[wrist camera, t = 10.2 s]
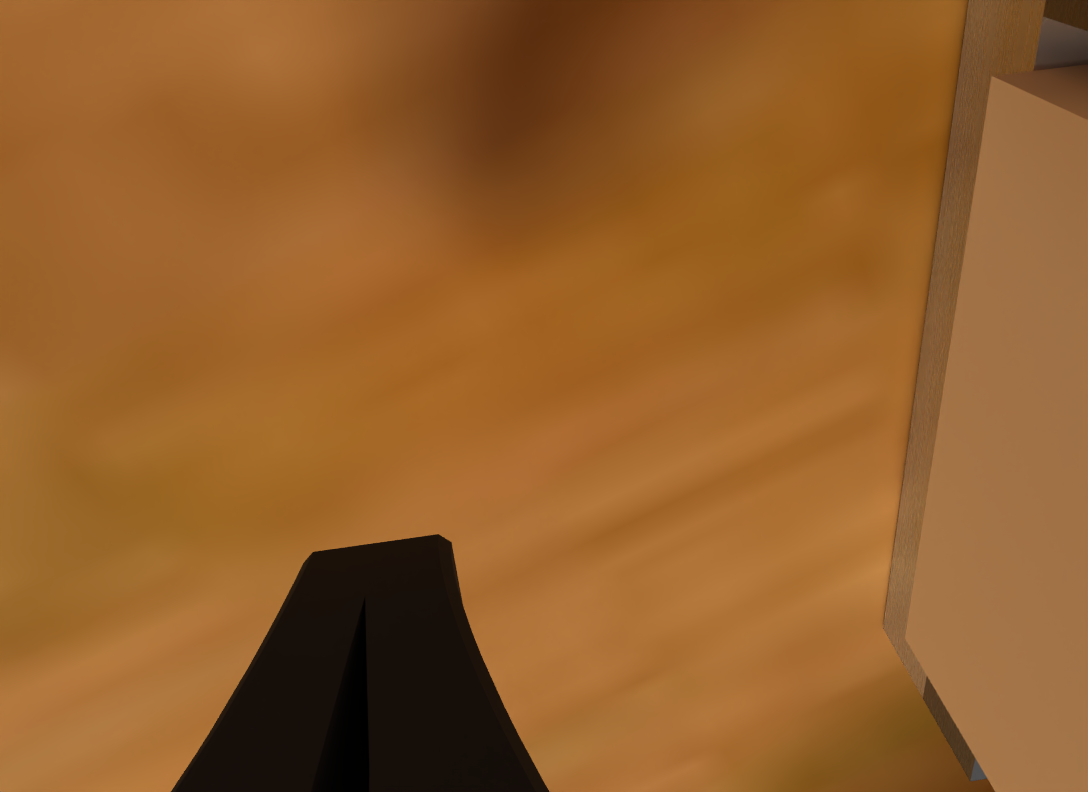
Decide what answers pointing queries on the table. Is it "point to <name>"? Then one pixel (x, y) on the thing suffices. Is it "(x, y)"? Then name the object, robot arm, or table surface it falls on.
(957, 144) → the frame
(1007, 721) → the tan cardboard box
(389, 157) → the table surface
